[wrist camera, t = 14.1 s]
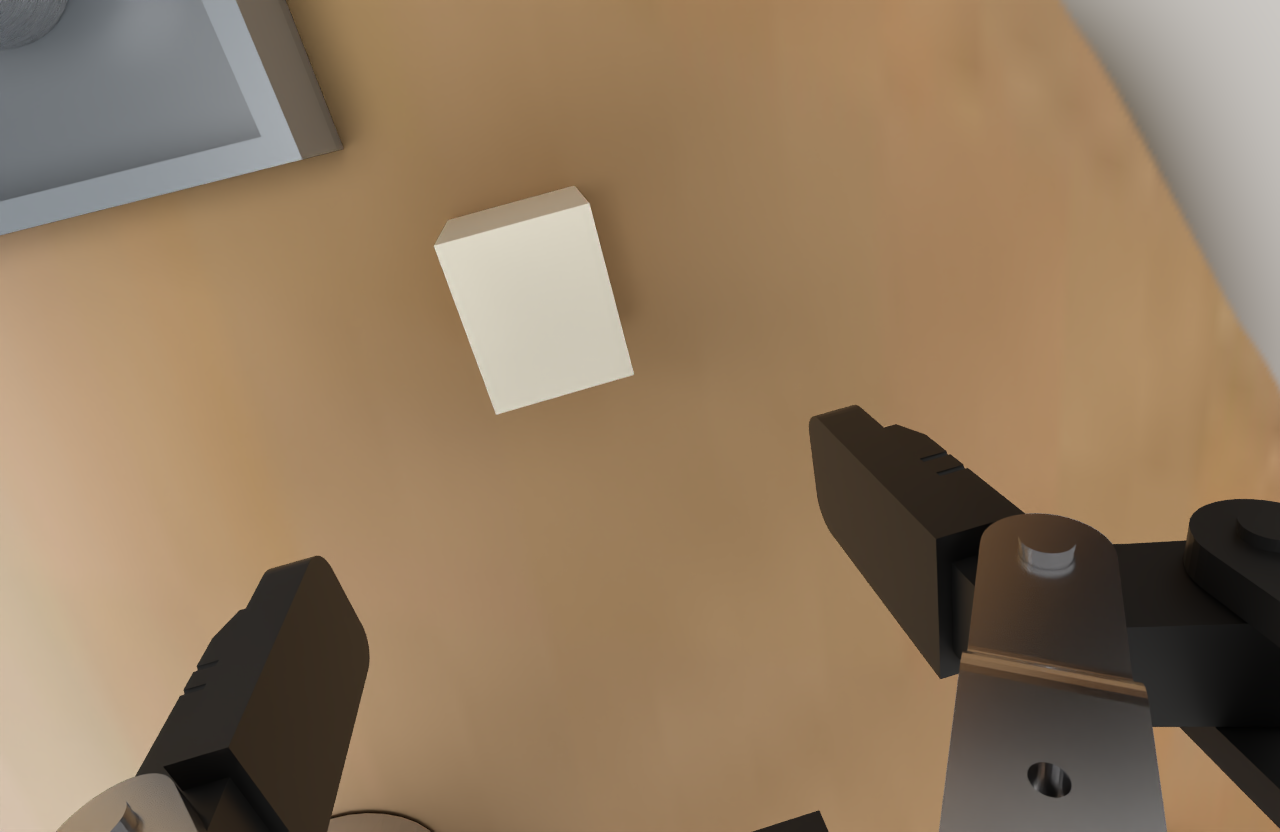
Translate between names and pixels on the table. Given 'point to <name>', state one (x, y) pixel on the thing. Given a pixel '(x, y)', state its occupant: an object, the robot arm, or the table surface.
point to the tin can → (27, 20)
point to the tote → (152, 104)
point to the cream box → (535, 298)
